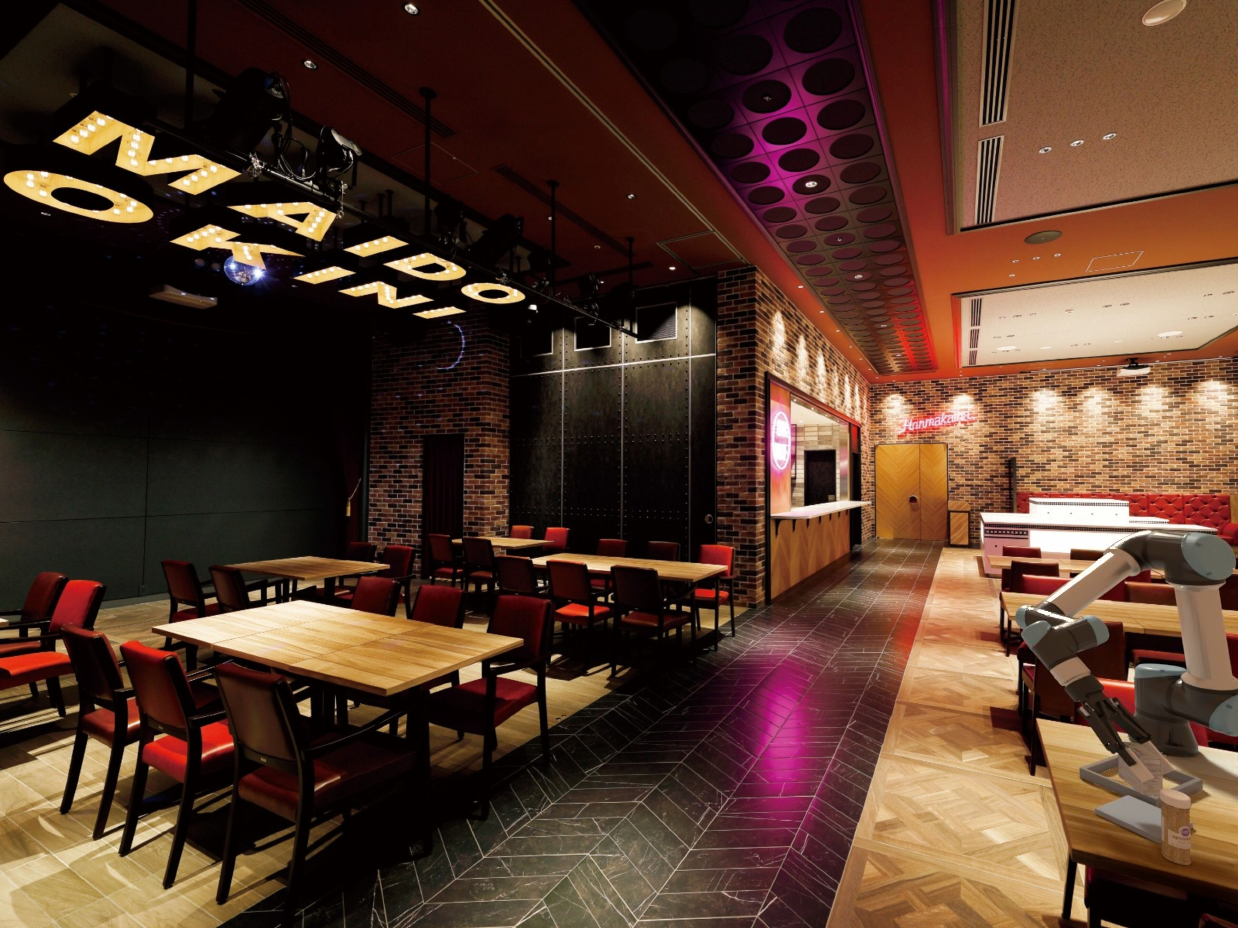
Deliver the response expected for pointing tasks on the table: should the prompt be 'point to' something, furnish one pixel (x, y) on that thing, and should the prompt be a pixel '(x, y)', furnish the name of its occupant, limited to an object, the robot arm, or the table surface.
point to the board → (1134, 816)
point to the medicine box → (1151, 764)
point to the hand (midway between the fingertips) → (1158, 775)
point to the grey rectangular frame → (1092, 775)
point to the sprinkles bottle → (1175, 826)
